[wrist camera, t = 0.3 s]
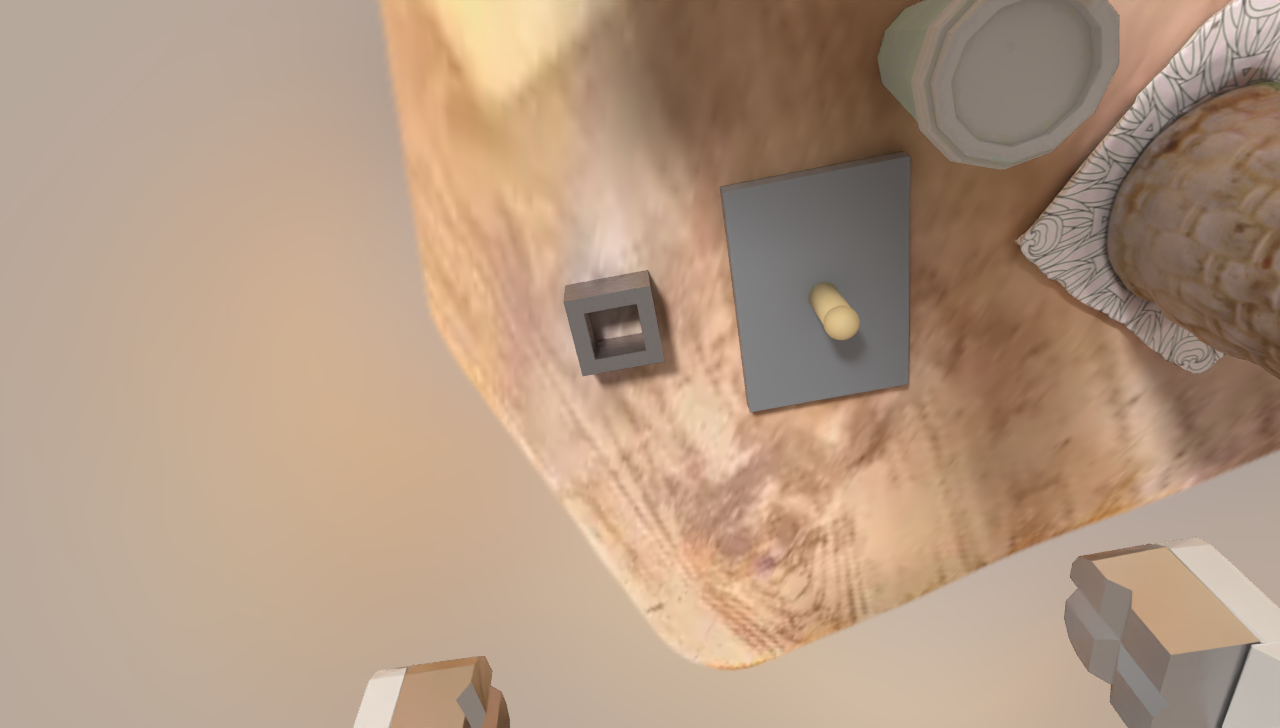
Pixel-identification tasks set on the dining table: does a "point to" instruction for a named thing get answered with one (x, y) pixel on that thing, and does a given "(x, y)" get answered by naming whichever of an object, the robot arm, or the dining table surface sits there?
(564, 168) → the dining table surface
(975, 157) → the disposable coffee cup
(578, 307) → the hollow square frame
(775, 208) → the keeper board
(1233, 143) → the cookie jar
